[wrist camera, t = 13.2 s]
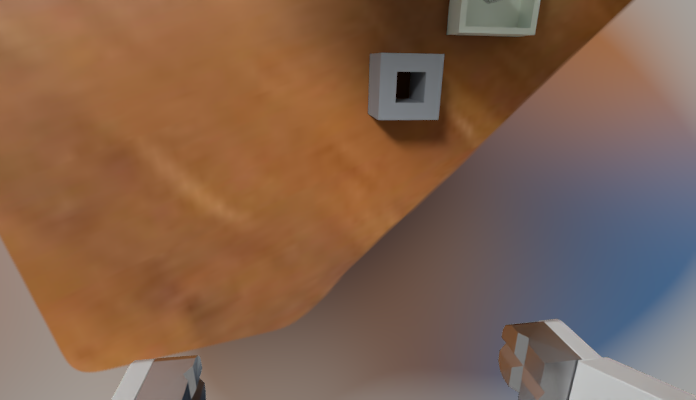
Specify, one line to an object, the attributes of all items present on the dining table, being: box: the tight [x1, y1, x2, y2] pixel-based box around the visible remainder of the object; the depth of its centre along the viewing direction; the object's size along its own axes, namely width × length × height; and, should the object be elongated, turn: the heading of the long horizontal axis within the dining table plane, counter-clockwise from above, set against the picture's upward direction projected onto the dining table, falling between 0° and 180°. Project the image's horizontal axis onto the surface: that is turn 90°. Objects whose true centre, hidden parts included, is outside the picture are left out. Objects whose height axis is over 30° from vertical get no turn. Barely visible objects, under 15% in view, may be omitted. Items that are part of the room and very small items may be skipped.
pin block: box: [368, 53, 444, 120], centre depth 38 cm, size 6×6×5 cm
